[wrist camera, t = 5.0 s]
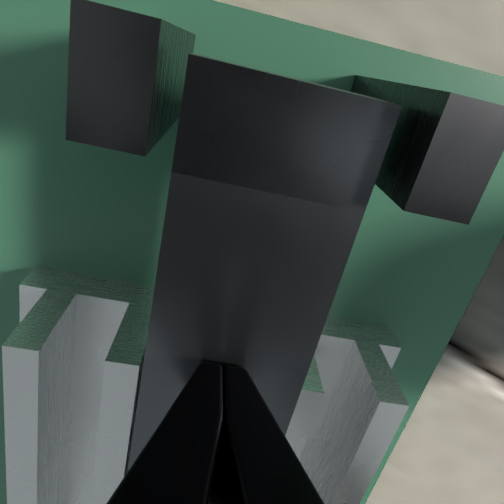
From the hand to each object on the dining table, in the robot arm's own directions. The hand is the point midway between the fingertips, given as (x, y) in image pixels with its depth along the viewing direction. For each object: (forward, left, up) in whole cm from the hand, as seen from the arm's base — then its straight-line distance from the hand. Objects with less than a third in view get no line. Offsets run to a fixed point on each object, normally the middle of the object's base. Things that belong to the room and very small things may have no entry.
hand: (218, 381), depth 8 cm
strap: (-5, 0, -1) cm, 5 cm away
